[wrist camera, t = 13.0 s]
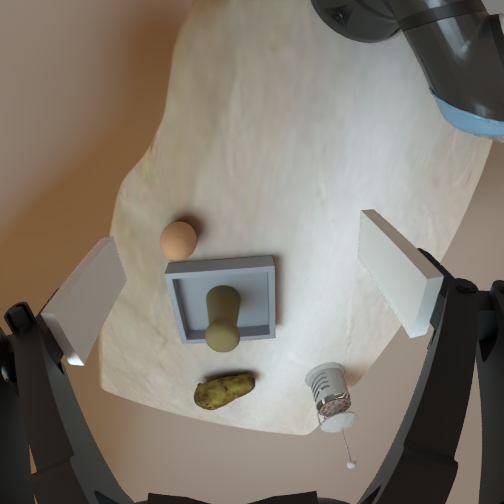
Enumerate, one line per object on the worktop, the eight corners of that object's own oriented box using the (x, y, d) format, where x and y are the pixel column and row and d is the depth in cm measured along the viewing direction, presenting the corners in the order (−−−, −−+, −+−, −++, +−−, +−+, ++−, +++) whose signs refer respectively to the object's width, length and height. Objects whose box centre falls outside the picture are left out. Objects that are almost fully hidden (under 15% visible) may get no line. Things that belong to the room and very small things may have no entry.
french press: (351, 363, 62) (386, 453, 40) (331, 392, 67) (356, 476, 45) (314, 361, 60) (342, 460, 38) (296, 392, 65) (315, 482, 43)
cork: (246, 293, 50) (251, 336, 40) (231, 317, 52) (232, 362, 42) (214, 279, 48) (211, 322, 38) (200, 306, 51) (195, 350, 41)
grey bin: (271, 255, 48) (274, 265, 45) (273, 325, 55) (275, 337, 52) (168, 263, 47) (164, 274, 44) (184, 331, 54) (182, 344, 51)
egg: (190, 210, 44) (183, 227, 37) (204, 240, 46) (200, 261, 40) (159, 223, 44) (148, 242, 38) (174, 252, 47) (166, 274, 40)
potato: (249, 390, 64) (251, 418, 57) (194, 386, 62) (192, 413, 55) (256, 368, 60) (259, 397, 53) (196, 363, 58) (193, 392, 51)
